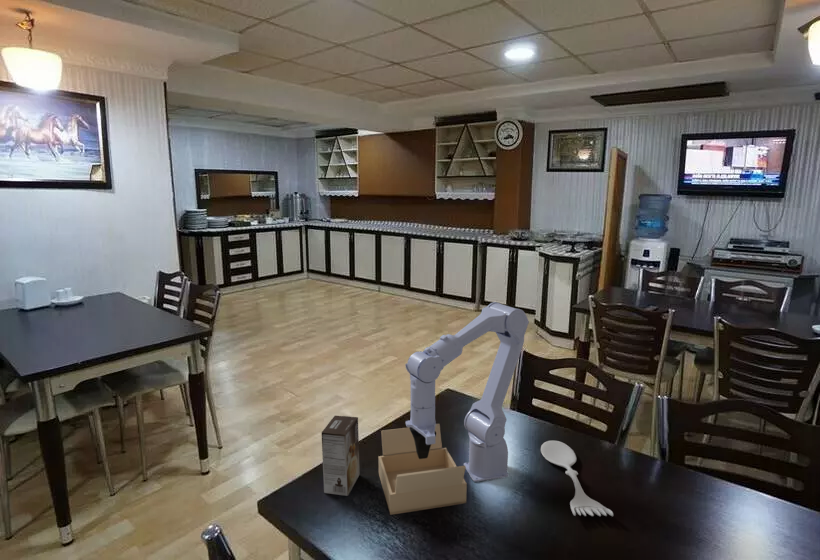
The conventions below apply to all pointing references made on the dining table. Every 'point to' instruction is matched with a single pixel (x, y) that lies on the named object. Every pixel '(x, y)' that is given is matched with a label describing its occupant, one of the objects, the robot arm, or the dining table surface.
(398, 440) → the far flap
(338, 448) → the coffee box
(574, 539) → the dining table surface
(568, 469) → the spoon
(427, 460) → the carton
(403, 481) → the near flap
